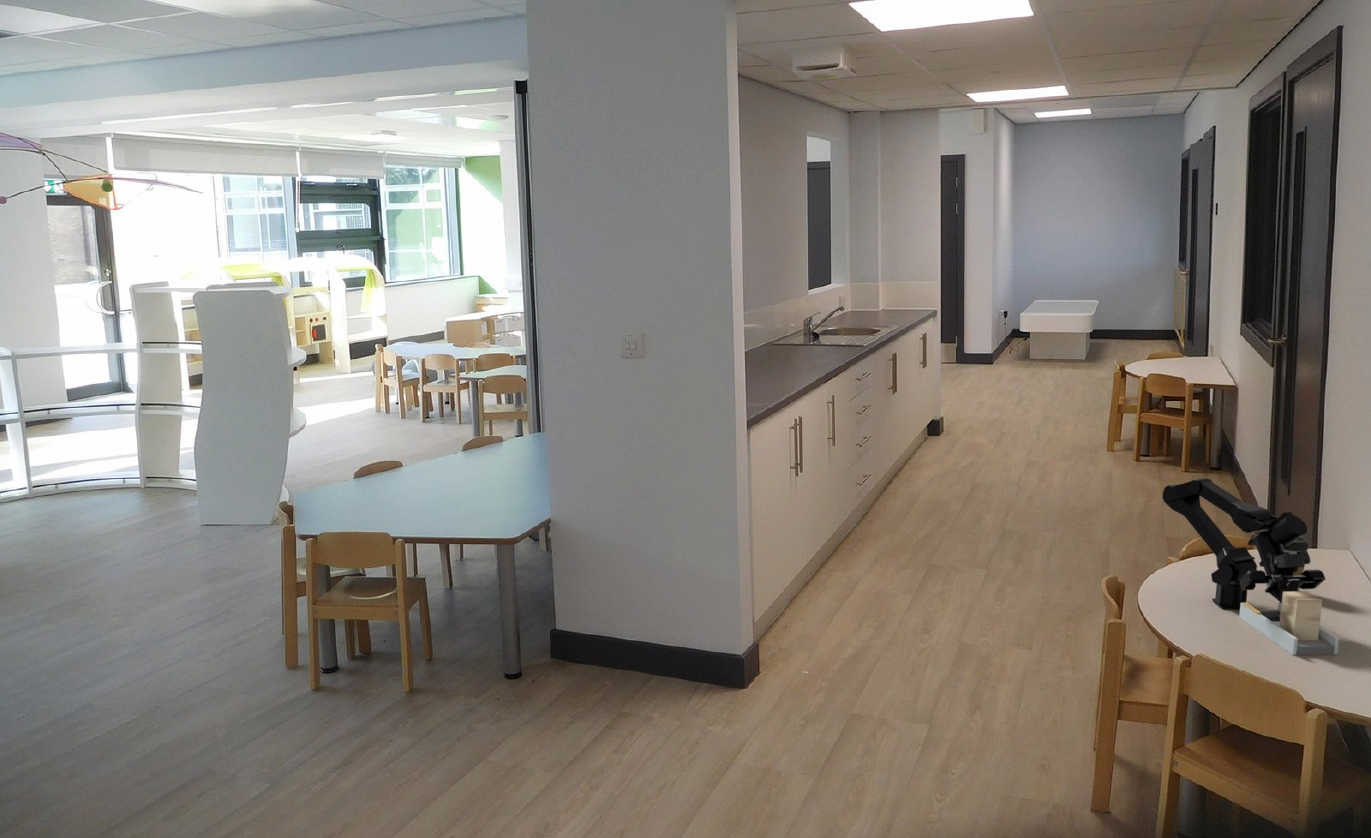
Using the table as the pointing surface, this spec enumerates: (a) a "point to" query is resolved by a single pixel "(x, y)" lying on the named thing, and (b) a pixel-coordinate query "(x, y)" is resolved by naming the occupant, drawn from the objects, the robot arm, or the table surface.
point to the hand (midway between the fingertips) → (1293, 611)
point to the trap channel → (1269, 627)
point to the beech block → (1301, 614)
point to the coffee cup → (1297, 547)
